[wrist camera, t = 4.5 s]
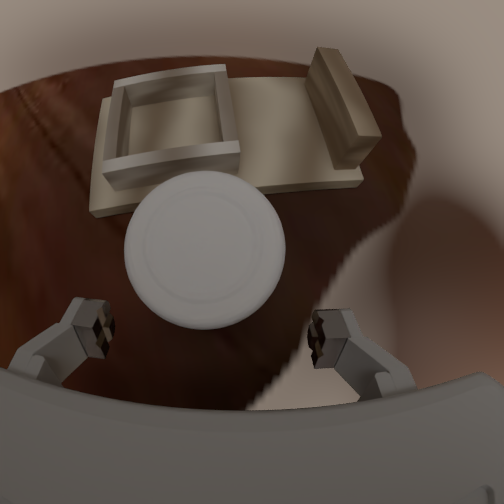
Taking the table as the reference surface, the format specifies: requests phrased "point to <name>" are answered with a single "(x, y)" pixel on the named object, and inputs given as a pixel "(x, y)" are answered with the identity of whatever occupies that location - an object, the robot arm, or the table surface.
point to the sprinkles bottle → (204, 250)
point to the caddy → (231, 131)
